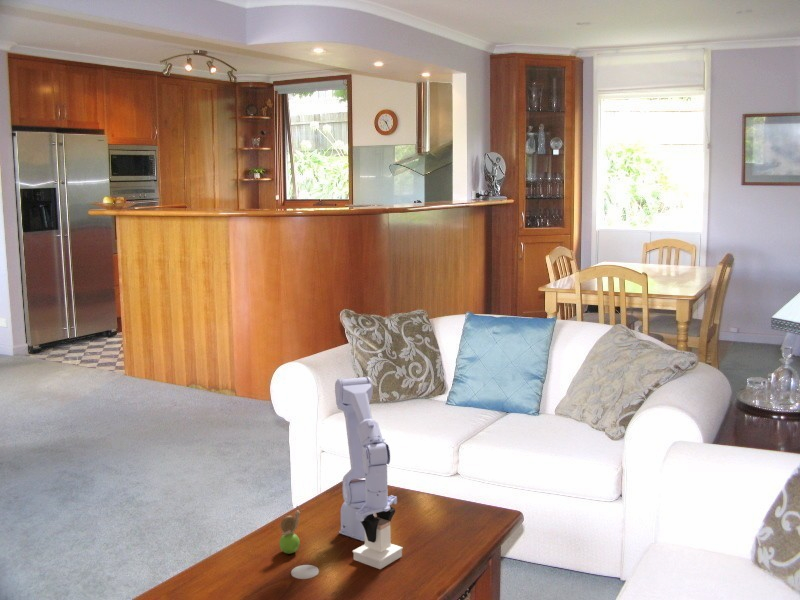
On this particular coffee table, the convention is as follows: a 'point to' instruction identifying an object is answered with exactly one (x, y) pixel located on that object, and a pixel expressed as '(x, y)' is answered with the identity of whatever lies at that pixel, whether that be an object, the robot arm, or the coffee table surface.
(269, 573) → the coffee table surface
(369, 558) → the podium
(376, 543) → the carton
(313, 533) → the coffee table surface
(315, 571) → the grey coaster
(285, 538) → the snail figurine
